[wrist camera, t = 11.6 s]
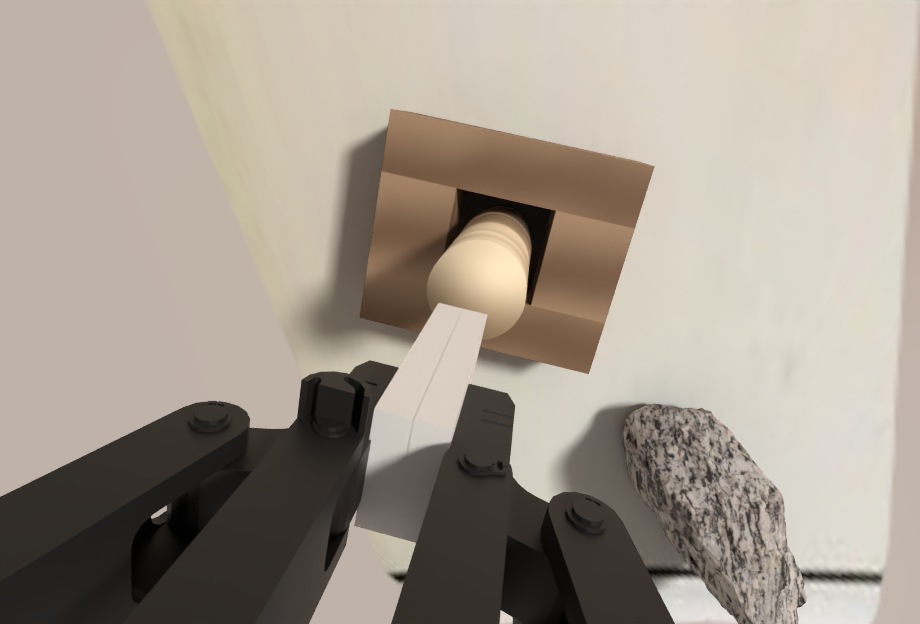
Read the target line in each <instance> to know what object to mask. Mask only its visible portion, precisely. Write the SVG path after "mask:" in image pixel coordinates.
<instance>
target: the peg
mask: <svg viewBox="0 0 920 624" xmlns="http://www.w3.org/2000/svg"><path fill="white" fill-rule="evenodd" d="M531 249H532V247H531V234H530V231H529V228H528V226H527V224H526V222H525V220H524V219H523V217H522V216H521V215H520V214H519V213H518V212H517V211H516V210H514V209H512V208H509V207H505V206H497V207H493V208H489V209H486V210H483V211H481V212H480V213H478V214H477V215H475V216H474V217H473V218H472V219H471V220H470V221H469V222H468V223H467V224H466V225H465V227H464V228H463V229H462V231H461V233H460V234H459V236H458V237H457V238H456V239H455V240H454V242H453V243H452V244H451V245H450V247H449V248H448V249H447V250H446V252H445V253H444V254H443V255H442V256H441V258H440V259H439V260H438V261H437V263H436V264H435V265H434V267H433V269H432V271H431V273H430V275H429V279H428V283H427V298H428V303H429V306H430V309H431V311H432V313H433V311H434V310H435V308H436V306H437V305H438V303H442V304H446V305H450V306H454V307H458V308H462V309H467V310H471V311H475V312H479V313H483V314H487V319H486V324H485V328H484V332H483V336H482V340H487V339H492V338H495V337H497V336H499V335H502V334H503V333H505V332H506V331H508V330H509V329H510V328H511V327H512V326H513V325H514V324H515V323H516V322H517V321H518V319H519V318H520V316H521V314H522V312H523V309H524V306H525V301H526V292H527V282H528V272H529V262H530V258H531Z"/></svg>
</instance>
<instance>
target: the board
mask: <svg viewBox="0 0 920 624" xmlns="http://www.w3.org/2000/svg"><path fill="white" fill-rule="evenodd" d="M653 169H654V166H651V165H648V164H645V163H641V162H638V161H634V160H629V159H624V158H620V157H615V156H611V155H606V154H601V153H597V152H592V151H588V150H583V149H578V148H574V147H569V146H565V145H560V144H555V143H551V142H546V141H542V140H537V139H532V138H528V137H523V136H519V135H514V134H509V133H505V132H500V131H496V130H491V129H486V128H482V127H477V126H473V125H468V124H463V123H459V122H454V121H450V120H445V119H440V118H436V117H431V116H427V115H422V114H417V113H413V112H406V111H399V110H393V109H391V110H390V117H389V124H388V130H387V137H386V144H385V150H384V157H383V164H382V171H381V177H380V184H379V191H378V198H377V204H376V211H375V218H374V224H373V231H372V238H371V245H370V251H369V258H368V265H367V272H366V278H365V285H364V292H363V298H362V305H361V312H360V318H363V319H367V320H371V321H376V322H380V323H384V324H388V325H392V326H396V327H400V328H404V329H408V330H412V331H416V332H420V333H421V331H422V329H423V328H424V326H425V324H426V323H427V321H428V319H429V318H430V316H431V314H432V311H431V309H430V306H429V303H428V298H427V283H428V279H429V275H430V273H431V271H432V269H433V267H434V265H435V264H436V263H437V261H438V260H439V259H440V258H441V256H442V255H443V254H444V253H445V252H446V250H447V249H448V248H449V247H450V245H451V244H452V243H453V242H454V240H455V239H456V238H457V234H458V229H459V224H460V219H461V214H462V209H463V204H464V199H465V194H466V191H471V192H475V193H480V194H484V195H489V196H493V197H497V198H502V199H506V200H511V201H515V202H520V203H524V204H528V205H533V206H537V207H542V208H546V209H551V214H550V217H549V221H548V225H547V229H546V233H545V237H544V241H543V244H542V248H541V252H540V256H539V260H538V264H537V267H536V271H535V275H534V279H533V283H532V282H527V292H526V301H525V306H524V309H523V312H522V314H521V316H520V318H519V319H518V321H517V322H516V323H515V324H514V325H513V326H512V327H511V328H510V329H509V330H508V331H506V332H505V333H503V334H502V335H499V336H497V337H495V338H492V339H487V340H482V341H481V345H480V347H481V348H485V349H489V350H493V351H497V352H501V353H505V354H510V355H514V356H518V357H522V358H526V359H530V360H534V361H538V362H542V363H546V364H550V365H554V366H558V367H562V368H566V369H570V370H575V371H579V372H583V373H587V374H589V371H590V368H591V365H592V362H593V359H594V356H595V352H596V349H597V346H598V343H599V340H600V337H601V334H602V330H603V327H604V324H605V321H606V318H607V315H608V311H609V308H610V305H611V302H612V299H613V296H614V292H615V289H616V286H617V283H618V280H619V277H620V274H621V270H622V267H623V264H624V261H625V258H626V255H627V251H628V248H629V245H630V242H631V239H632V236H633V232H634V229H635V226H636V223H637V220H638V217H639V214H640V210H641V207H642V204H643V201H644V198H645V195H646V191H647V188H648V185H649V182H650V179H651V176H652V172H653Z"/></svg>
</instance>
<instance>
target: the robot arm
mask: <svg viewBox="0 0 920 624" xmlns="http://www.w3.org/2000/svg"><path fill="white" fill-rule="evenodd" d="M486 319H487V314H483V313H479V312H475V311H471V310H467V309H462V308H458V307H454V306H450V305H446V304H442V303H438V305H437V306H436V308H435V310H434V311H433V313H432V314H431V316H430V318H429V319H428V321H427V323H426V324H425V326H424V328H423V329H422V331H421V333H420V334H419V336H418V337H417V339H416V341H415V342H414V344H413V346H412V347H411V349H410V351H409V352H408V354H407V356H406V357H405V359H404V361H403V362H402V364H401V365H400V367H399V368H398V367H394V366H390V365H386V364H382V363H378V362H374V361H368V362H365V363H363V364H361V365H358V366H356V367H355V368H354V369H353V370H352V372H351V373H350V374H347V373H341V372H319V373H315V374H311V375H309V376H307V377H305V378H304V379H302V381H301V390H300V399H299V407H298V417H297V419H296V420H295V421H294V423H293V424H292V425H291V426H290V427H289V428H287V429H262V428H261V429H260V428H249V425H250V418H249V416H248V414H247V412H246V411H245V410H243V409H242V408H240V407H239V406H237V405H233V404H230V403H226V402H220V401H219V402H217V401H208V402H200V403H194V404H192V405H189V406H186V407H183V408H181V409H179V410H177V411H175V412H172V413H171V414H168V415H166V416H164V417H162V418H160V419H158V420H156V421H154V422H152V423H150V424H148V425H146V426H144V427H142V428H140V429H138V430H136V431H134V432H132V433H130V434H128V435H126V436H124V437H122V438H120V439H118V440H115V441H114V442H111V443H109V444H108V445H105V446H103V447H101V448H99V449H97V450H96V451H93V452H91V453H89V454H87V455H85V456H83V457H81V458H79V459H77V460H75V461H73V462H71V463H69V464H66V465H64V466H62V467H60V468H58V469H56V470H54V471H52V472H50V473H48V474H46V475H44V476H42V477H40V478H38V479H36V480H34V481H32V482H30V483H28V484H26V485H24V486H22V487H20V488H18V489H16V490H14V491H11V492H9V493H7V494H5V495H3V496H1V497H0V624H309V622H310V620H311V618H312V616H313V614H314V612H315V609H316V607H317V605H318V603H319V601H320V599H321V597H322V595H323V592H324V590H325V588H326V586H327V584H328V582H329V580H330V578H331V576H332V573H333V571H334V569H335V567H336V565H337V563H338V561H339V559H340V556H341V554H342V552H343V550H344V548H345V546H346V541H347V537H348V531H349V524H350V522H351V520H352V518H353V516H354V514H355V512H356V510H357V515H356V520H355V526H357V527H361V528H365V529H368V530H372V531H376V532H379V533H383V534H387V535H390V536H394V537H397V538H401V539H405V540H408V541H412V542H416V546H415V549H414V552H413V555H412V558H411V562H410V565H409V568H408V571H407V575H406V578H405V581H404V584H403V587H402V591H401V594H400V597H399V600H398V604H397V607H396V610H395V613H394V617H393V620H392V623H391V624H499V622H500V611H501V610H502V611H504V612H505V613H507V614H508V615H510V616H512V617H513V624H675V623H674V621H673V619H672V617H671V615H670V613H669V612H668V610H667V608H666V606H665V604H664V602H663V600H662V598H661V596H660V594H659V592H658V590H657V588H656V586H655V584H654V582H653V580H652V578H651V577H650V575H649V573H648V571H647V569H646V567H645V565H644V563H643V561H642V559H641V557H640V555H639V553H638V551H637V549H636V547H635V545H634V543H633V541H632V540H631V538H630V536H629V534H628V532H627V530H626V528H625V526H624V524H623V522H622V521H621V519H620V518H619V517H618V515H617V514H616V513H615V511H614V510H612V509H611V508H610V507H608V506H607V505H606V504H605V503H603V502H602V501H600V500H598V499H596V498H594V497H591V496H589V495H585V494H581V493H577V492H562V493H560V494H558V495H556V496H553V498H552V499H551V501H550V502H549V503H548V502H546V501H544V500H542V499H540V498H538V497H536V496H534V495H532V494H531V493H529V492H527V491H526V490H525V489H524V488H522V487H521V486H520V485H519V484H518V483H517V482H516V480H515V479H514V478H513V473H512V468H511V465H510V464H509V463H510V453H511V443H512V432H513V422H514V412H515V405H514V403H513V401H512V400H511V398H510V396H509V395H508V393H504V392H500V391H496V390H492V389H488V388H484V387H480V386H476V385H472V384H471V383H472V379H473V375H474V370H475V366H476V362H477V358H478V353H479V349H480V345H481V341H482V336H483V332H484V328H485V324H486ZM166 505H167V511H166V512H164V513H163V514H161V515H160V516H159V517H156V518H154V519H151V516H152V515H153V514H154V513H156V512H157V511H159V510H160V509H162V508H163V507H165V506H166Z"/></svg>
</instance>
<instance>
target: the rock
mask: <svg viewBox="0 0 920 624" xmlns="http://www.w3.org/2000/svg"><path fill="white" fill-rule="evenodd" d="M624 422H625V427H624V431H623V433H622V434H621V441H622V443H623V445H624V449H625V455H626V462H627V467H628V473H629V477H630V479H631V481H632V483H633V485H634V487H635V490H636V492H637V493H638V494H639V496H640V497H641V498H642V500H643V501H644V502H645V504H646V505H647V506H648V507H649V508H650V509H651V510H652V511H653V512H654V513H655V515H656V517H657V518H658V520H659V521H660V523H661V525H662V526H663V529H664V532H665V534H666V536H667V537H668V538H669V539H670V541H671V543H672V545H673V546H674V547H675V548H676V549H677V551H678V553H680V554H681V556H682V557H683V558H684V560H685V561H686V562H687V564H688V565H689V566H690V567H691V569H693V570H694V572H695V573H696V574H697V575H698V576H699V577H700V578H701V579H702V580H703V582H704V583H705V585H706V587H707V589H708V590H709V592H710V593H711V594H712V595H713V596H714V597H715V598H716V599H717V600H718V601H719V603H720V604H721V606H722V607H723V608H725V609H726V610H727V611H728V612H729V614H730V615H733V616H734V618H735V619H736V621H737V622H738V624H798V615H797V610H796V609H797V608H798V607H801V606H802V605H803V604H805V603H806V599H807V597H806V593H805V590H804V582H803V581H802V575H801V572H800V569H799V568H798V567H797V565H796V563H795V559H794V556H793V555H792V554H791V552H790V550H789V547H788V545H787V538H786V523H785V517H784V502H783V497H782V495H781V493H780V491H779V490H778V489H777V488H776V486H775V485H774V484H773V483H772V482H771V481H770V480H768V479H767V478H766V477H765V475H764V474H763V472H762V471H761V470H760V469H759V467H758V466H757V465H756V464H755V462H754V461H753V460H752V458H751V457H750V456H749V454H748V453H747V451H746V450H745V449H744V448H743V446H742V445H741V444H740V443H739V442H738V441H737V440H736V439H735V437H734V435H733V433H732V432H731V431H730V430H729V429H728V428H727V427H726V426H725V425H723V424H722V423H721V422H720V421H719V420H718V419H717V418H716V417H715V416H714V415H713V414H712V413H711V411H708V410H704V409H703V408H700V409H693V408H683V409H682V408H676V407H674V406H663V405H660V404H651V405H647V406H643V407H641V408H639V409H637V410H635V411H633V412H631V413H630V414H629V416H628V417H627V418H626V419H625V421H624Z"/></svg>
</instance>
